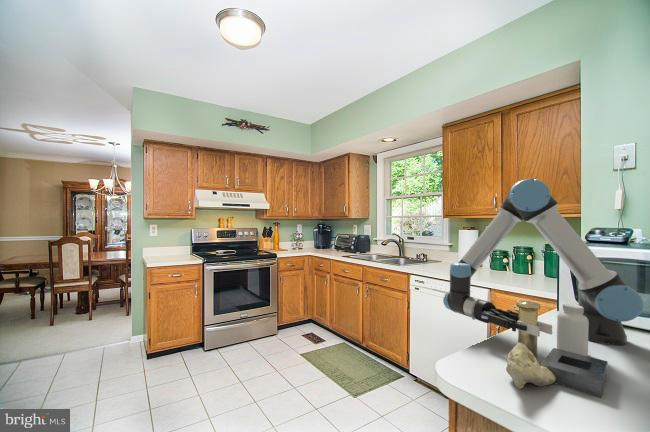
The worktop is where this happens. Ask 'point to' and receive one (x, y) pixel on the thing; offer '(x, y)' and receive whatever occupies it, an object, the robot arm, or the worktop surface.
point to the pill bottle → (572, 330)
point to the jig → (577, 371)
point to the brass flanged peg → (530, 316)
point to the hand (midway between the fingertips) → (544, 330)
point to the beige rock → (527, 368)
